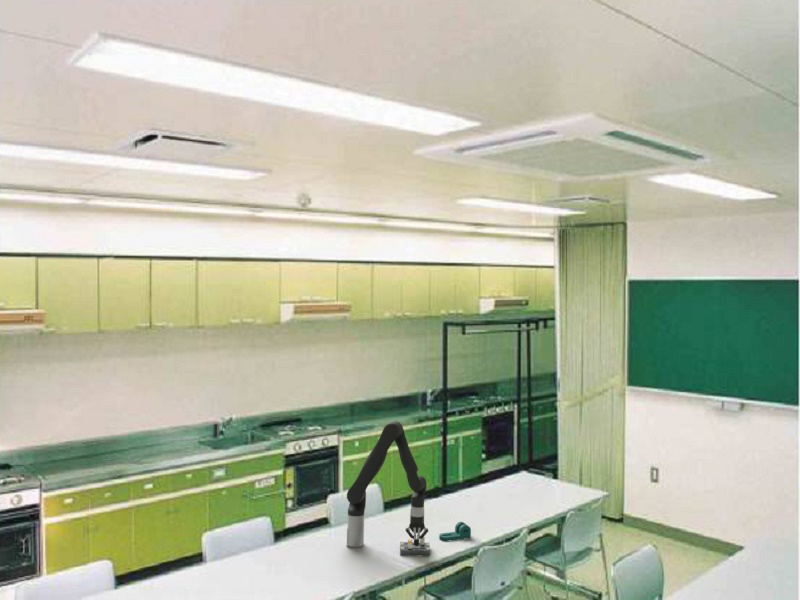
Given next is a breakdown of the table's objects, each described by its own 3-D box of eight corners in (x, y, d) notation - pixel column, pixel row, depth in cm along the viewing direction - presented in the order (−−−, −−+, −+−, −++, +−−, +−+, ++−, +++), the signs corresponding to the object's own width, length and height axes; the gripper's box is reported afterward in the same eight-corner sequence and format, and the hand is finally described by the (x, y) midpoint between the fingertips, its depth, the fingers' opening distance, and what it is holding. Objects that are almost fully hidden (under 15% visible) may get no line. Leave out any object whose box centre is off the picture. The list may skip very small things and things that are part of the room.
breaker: (420, 544, 377) (420, 537, 377) (419, 542, 380) (420, 535, 380) (424, 544, 377) (424, 537, 377) (424, 542, 380) (424, 535, 380)
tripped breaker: (407, 548, 371) (407, 541, 371) (407, 546, 374) (407, 539, 374) (412, 548, 371) (412, 541, 371) (412, 546, 374) (412, 539, 374)
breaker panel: (400, 555, 370) (400, 549, 370) (400, 547, 381) (400, 541, 381) (429, 556, 370) (430, 550, 370) (429, 548, 381) (429, 542, 381)
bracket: (465, 534, 404) (465, 521, 404) (470, 538, 398) (470, 524, 398) (437, 537, 398) (437, 524, 398) (442, 542, 392) (442, 528, 392)
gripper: (405, 516, 369) (404, 548, 369) (429, 516, 369) (428, 548, 369) (405, 511, 376) (404, 542, 377) (429, 512, 376) (428, 543, 377)
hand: (416, 545), depth 373 cm, fingers closed
